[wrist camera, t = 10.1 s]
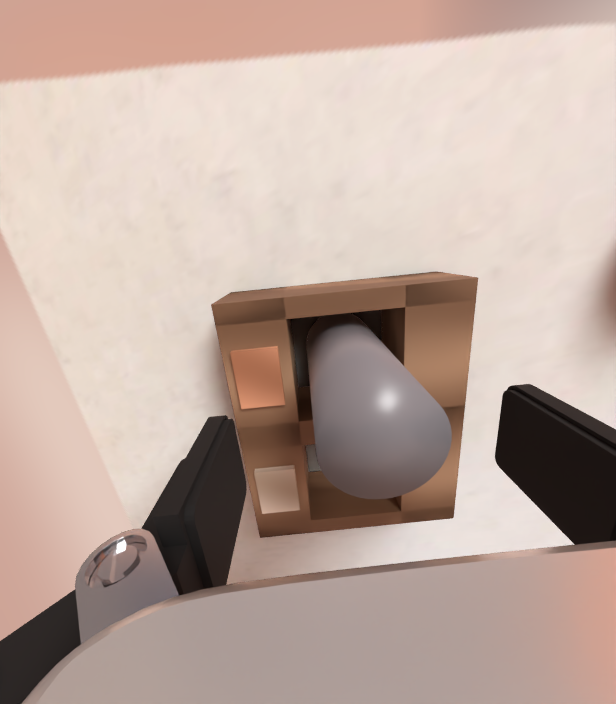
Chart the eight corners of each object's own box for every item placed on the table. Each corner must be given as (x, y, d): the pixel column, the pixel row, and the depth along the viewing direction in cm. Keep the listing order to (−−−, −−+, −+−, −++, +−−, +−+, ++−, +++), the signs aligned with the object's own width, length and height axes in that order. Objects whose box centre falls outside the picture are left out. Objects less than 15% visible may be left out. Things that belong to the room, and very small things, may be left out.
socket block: (425, 471, 21) (455, 522, 17) (266, 487, 21) (259, 542, 17) (436, 271, 17) (482, 278, 12) (230, 292, 16) (209, 305, 12)
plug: (370, 369, 18) (447, 492, 9) (309, 375, 18) (321, 505, 9) (369, 308, 17) (457, 378, 8) (303, 315, 17) (309, 393, 8)
